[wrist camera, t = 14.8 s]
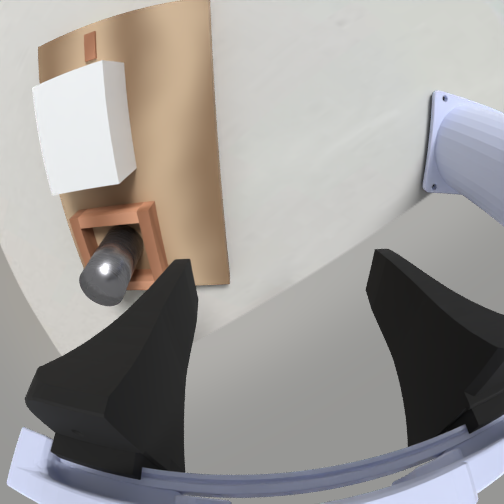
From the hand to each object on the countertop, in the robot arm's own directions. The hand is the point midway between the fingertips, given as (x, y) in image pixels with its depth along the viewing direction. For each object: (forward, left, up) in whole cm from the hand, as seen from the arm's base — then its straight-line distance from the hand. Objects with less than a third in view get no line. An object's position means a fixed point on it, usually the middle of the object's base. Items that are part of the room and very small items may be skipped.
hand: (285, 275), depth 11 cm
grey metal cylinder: (+10, +3, -8) cm, 14 cm away
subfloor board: (+9, -3, -9) cm, 13 cm away
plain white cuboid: (+11, -6, -8) cm, 15 cm away
